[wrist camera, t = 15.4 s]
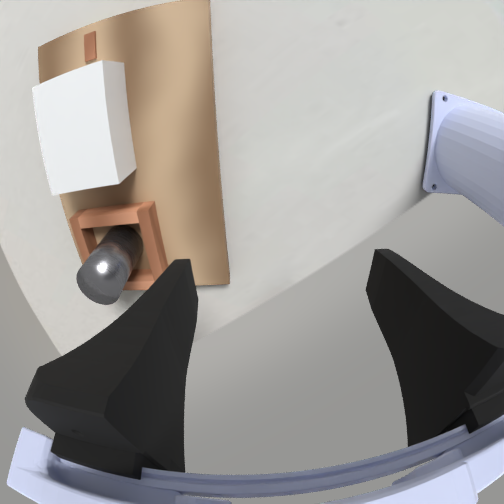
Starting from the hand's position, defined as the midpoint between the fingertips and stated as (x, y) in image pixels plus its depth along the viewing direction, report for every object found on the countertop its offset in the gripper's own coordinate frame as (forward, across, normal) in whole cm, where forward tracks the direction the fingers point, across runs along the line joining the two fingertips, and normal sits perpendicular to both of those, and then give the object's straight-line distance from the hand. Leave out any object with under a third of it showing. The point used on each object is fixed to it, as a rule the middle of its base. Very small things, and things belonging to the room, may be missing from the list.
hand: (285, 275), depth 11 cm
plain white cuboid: (+8, +11, -6) cm, 15 cm away
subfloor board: (+9, +9, -3) cm, 13 cm away
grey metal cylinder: (+8, +10, +3) cm, 14 cm away
